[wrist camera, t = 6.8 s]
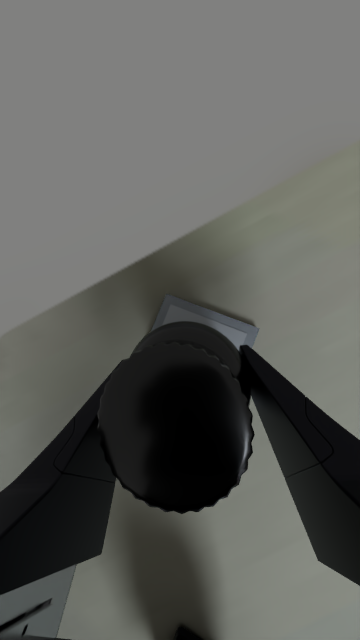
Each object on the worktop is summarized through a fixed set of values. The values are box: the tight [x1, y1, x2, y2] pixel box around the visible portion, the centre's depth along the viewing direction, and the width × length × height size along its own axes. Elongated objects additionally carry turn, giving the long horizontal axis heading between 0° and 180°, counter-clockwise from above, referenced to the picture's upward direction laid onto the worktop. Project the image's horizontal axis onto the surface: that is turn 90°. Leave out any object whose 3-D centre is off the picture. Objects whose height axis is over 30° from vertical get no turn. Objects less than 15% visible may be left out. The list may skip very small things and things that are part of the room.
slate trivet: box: [151, 294, 260, 351], centre depth 17 cm, size 11×11×1 cm
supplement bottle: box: [97, 321, 254, 514], centre depth 10 cm, size 7×7×12 cm
